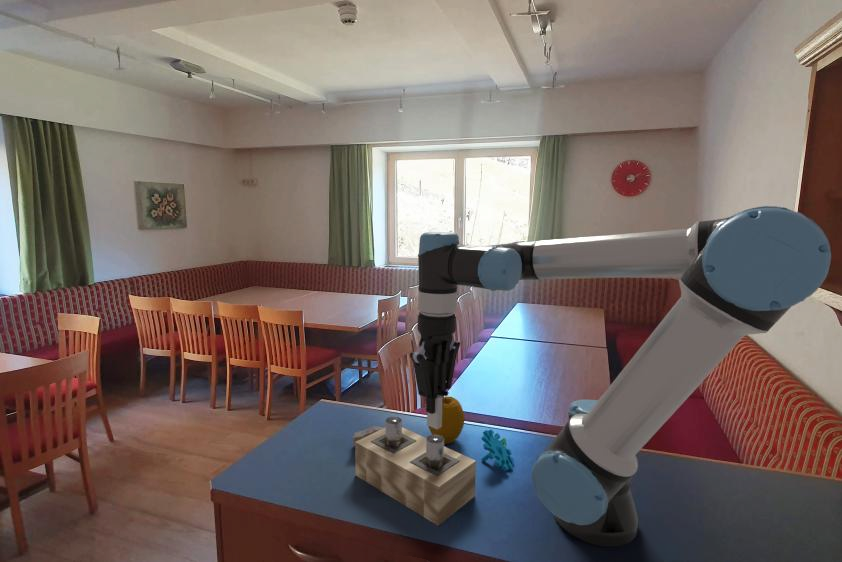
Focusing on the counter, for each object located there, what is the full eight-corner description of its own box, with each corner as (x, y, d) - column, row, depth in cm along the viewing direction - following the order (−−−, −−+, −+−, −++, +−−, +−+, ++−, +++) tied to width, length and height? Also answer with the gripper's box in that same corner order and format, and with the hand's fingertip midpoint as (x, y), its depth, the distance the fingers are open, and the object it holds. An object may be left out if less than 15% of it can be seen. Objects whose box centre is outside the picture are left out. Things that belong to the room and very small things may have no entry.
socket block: (474, 496, 93) (476, 460, 92) (438, 525, 84) (438, 486, 83) (393, 454, 109) (393, 422, 107) (355, 475, 100) (355, 441, 99)
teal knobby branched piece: (507, 474, 98) (480, 434, 101) (488, 487, 100) (461, 448, 103) (521, 457, 108) (496, 421, 111) (503, 469, 110) (479, 434, 113)
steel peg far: (405, 451, 100) (405, 420, 98) (393, 458, 97) (393, 425, 96) (393, 445, 102) (393, 415, 101) (382, 452, 99) (382, 420, 98)
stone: (392, 440, 116) (392, 419, 115) (392, 457, 108) (392, 434, 107) (354, 441, 115) (353, 420, 114) (351, 458, 107) (351, 435, 106)
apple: (445, 427, 123) (446, 386, 121) (472, 440, 115) (473, 397, 114) (419, 439, 116) (419, 396, 114) (445, 454, 109) (446, 409, 107)
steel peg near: (447, 472, 92) (447, 438, 91) (435, 480, 89) (436, 445, 88) (433, 466, 94) (434, 432, 93) (422, 473, 91) (422, 439, 90)
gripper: (443, 304, 94) (440, 409, 97) (399, 314, 84) (398, 431, 88) (472, 310, 89) (468, 421, 92) (429, 321, 79) (427, 444, 83)
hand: (434, 425), depth 90 cm, fingers closed
